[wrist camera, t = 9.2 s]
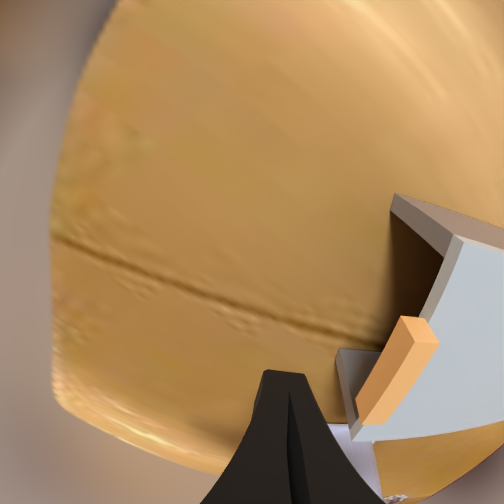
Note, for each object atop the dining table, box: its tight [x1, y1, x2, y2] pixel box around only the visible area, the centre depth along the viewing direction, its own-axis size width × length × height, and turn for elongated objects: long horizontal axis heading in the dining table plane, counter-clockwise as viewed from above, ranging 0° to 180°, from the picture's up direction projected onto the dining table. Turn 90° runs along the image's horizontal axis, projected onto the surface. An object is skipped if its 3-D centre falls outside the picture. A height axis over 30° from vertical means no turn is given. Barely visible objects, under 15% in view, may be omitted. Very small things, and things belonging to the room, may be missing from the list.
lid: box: [349, 234, 504, 442], centre depth 11 cm, size 12×16×2 cm
